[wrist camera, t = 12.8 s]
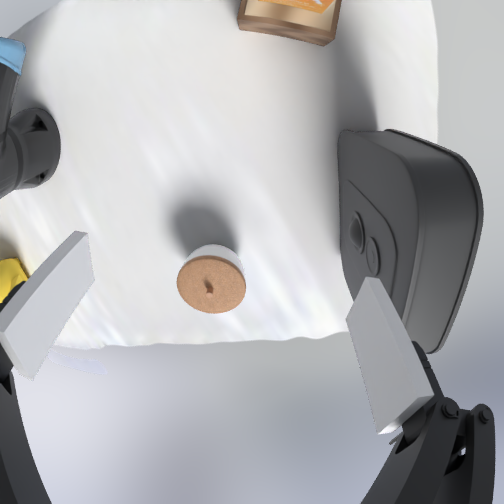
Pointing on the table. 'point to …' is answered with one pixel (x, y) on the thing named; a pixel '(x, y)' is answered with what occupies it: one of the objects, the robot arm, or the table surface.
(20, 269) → the teapot
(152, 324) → the table surface
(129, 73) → the table surface
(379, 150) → the speaker
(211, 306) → the lidded jar
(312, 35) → the brown square box
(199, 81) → the table surface
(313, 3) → the small box
